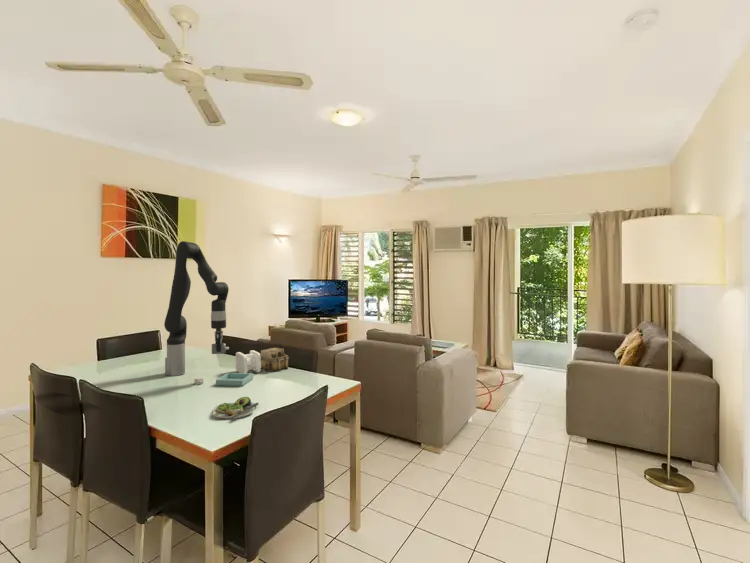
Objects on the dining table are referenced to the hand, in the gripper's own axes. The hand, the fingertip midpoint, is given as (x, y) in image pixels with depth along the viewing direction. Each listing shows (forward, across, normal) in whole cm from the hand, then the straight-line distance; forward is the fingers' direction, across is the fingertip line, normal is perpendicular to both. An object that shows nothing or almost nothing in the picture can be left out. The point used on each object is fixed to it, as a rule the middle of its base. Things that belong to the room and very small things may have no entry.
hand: (218, 350), depth 210 cm
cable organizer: (+16, +11, -14) cm, 24 cm away
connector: (+1, 0, 0) cm, 1 cm away
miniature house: (+16, +16, -29) cm, 37 cm away
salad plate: (+16, -53, -11) cm, 56 cm away
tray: (+16, -8, -8) cm, 19 cm away
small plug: (+16, -4, +10) cm, 19 cm away
